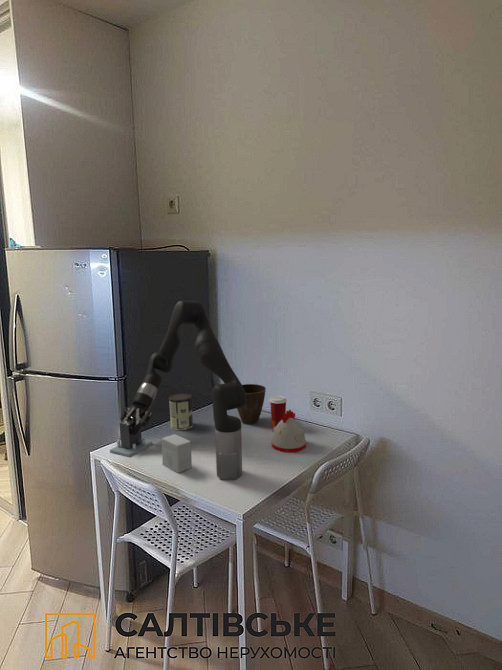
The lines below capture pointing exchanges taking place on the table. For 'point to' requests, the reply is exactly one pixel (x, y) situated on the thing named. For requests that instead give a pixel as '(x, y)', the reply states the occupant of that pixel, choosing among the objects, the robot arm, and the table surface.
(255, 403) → the plant pot
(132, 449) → the grey peg board
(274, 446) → the cream and red dome
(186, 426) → the coffee can
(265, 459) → the table surface
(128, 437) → the block
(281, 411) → the paper cup
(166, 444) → the skincare box
